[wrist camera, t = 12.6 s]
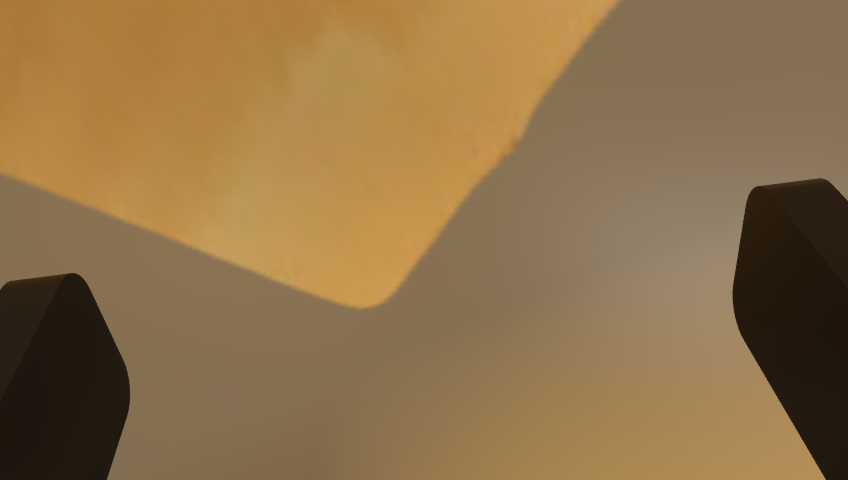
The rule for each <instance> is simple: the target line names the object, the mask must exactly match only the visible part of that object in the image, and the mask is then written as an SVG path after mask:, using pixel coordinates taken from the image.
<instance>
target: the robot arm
mask: <svg viewBox="0 0 848 480" xmlns="http://www.w3.org/2000/svg"><path fill="white" fill-rule="evenodd" d="M733 306H734V313H735V318H736V322H737V325H738V328H739V331H740V333H741V336H742V337H743V339H744V341H745V343H746V344H747V346H748V348H749V349H750V351H751V353H752V355H753V356H754V358H755V360H756V362H757V363H758V365H759V366H760V368H761V370H762V372H763V373H764V375H765V377H766V378H767V380H768V382H769V384H770V385H771V387H772V389H773V390H774V392H775V394H776V396H777V397H778V399H779V401H780V402H781V404H782V406H783V407H784V409H785V411H786V413H787V414H788V416H789V418H790V419H791V421H792V423H793V425H794V426H795V428H796V430H797V431H798V433H799V435H800V436H801V438H802V440H803V441H804V443H805V445H806V446H807V448H808V450H809V452H810V453H811V455H812V457H813V459H814V460H815V462H816V464H817V465H818V467H819V469H820V470H821V472H822V474H823V475H824V477H825V479H826V480H848V201H847V200H846V199H845V198H844V197H843V195H842V194H841V193H840V192H839V191H838V190H837V189H836V188H835V187H834V186H833V185H832V184H831V183H830V182H829V181H827V180H825V179H821V178H819V179H812V180H803V181H796V182H788V183H780V184H772V185H766V186H757V187H755V188H753V190H752V191H751V192H750V194H749V196H748V199H747V203H746V208H745V214H744V220H743V227H742V233H741V239H740V245H739V252H738V258H737V265H736V271H735V277H734V283H733ZM129 404H130V384H129V377H128V373H127V369H126V366H125V363H124V361H123V359H122V356H121V354H120V352H119V350H118V348H117V346H116V344H115V342H114V339H113V337H112V335H111V333H110V331H109V329H108V327H107V325H106V322H105V320H104V318H103V316H102V314H101V312H100V310H99V307H98V305H97V303H96V301H95V299H94V297H93V295H92V293H91V291H90V289H89V286H88V285H87V283H86V282H85V280H84V279H83V278H82V277H81V276H80V275H78V274H75V273H70V274H62V275H54V276H47V277H39V278H31V279H23V280H15V281H10V282H8V283H6V284H5V285H4V286H3V287H2V288H1V290H0V480H107V477H108V474H109V471H110V468H111V465H112V462H113V458H114V455H115V452H116V449H117V446H118V443H119V440H120V437H121V434H122V430H123V427H124V424H125V421H126V418H127V414H128V410H129Z"/></svg>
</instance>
